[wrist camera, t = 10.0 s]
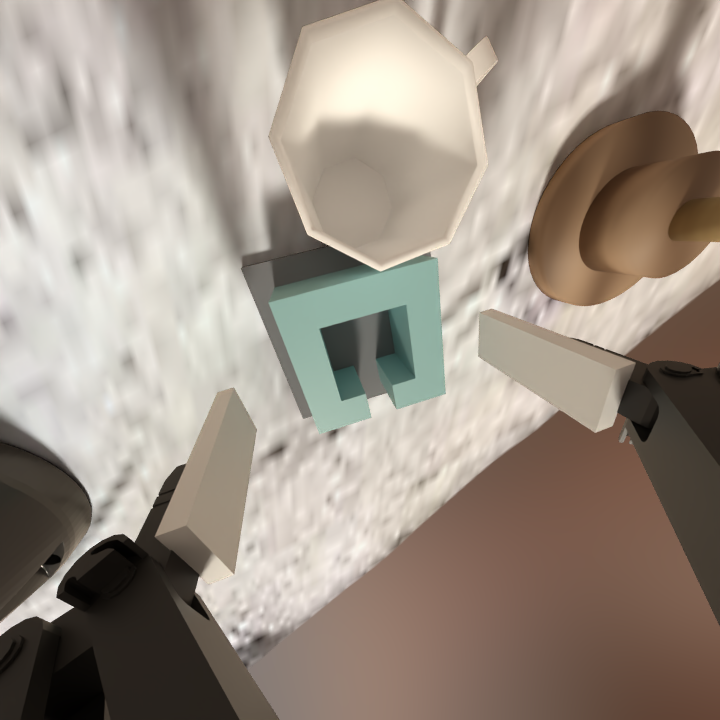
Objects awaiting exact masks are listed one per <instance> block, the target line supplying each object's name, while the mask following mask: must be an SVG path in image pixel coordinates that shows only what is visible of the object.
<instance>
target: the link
mask: <svg viewBox="0 0 720 720" xmlns="http://www.w3.org/2000/svg"><path fill="white" fill-rule="evenodd" d="M268 303H269V305H270V308H271V310H272V313H273V316H274V318H275V321H276V323H277V326H278V328H279V331H280V334H281V336H282V339H283V341H284V344H285V346H286V349H287V352H288V354H289V357H290V359H291V362H292V364H293V367H294V370H295V372H296V375H297V377H298V380H299V382H300V385H301V388H302V390H303V393H304V395H305V398H306V400H307V403H308V406H309V408H310V411H311V413H312V416H313V418H314V421H315V424H316V426H317V429H318V431H319V434H321V433H324V432H327V431H330V430H334V429H337V428H340V427H343V426H346V425H349V424H352V423H356V422H359V421H362V420H365V419H368V418H371V414H370V409H369V405H368V401H367V397H366V393H365V391H364V389H363V386H362V384H361V382H360V379H359V377H358V375H357V372H356V370H355V368H354V365H353V366H350V367H347V368H343V369H340V370H336V371H333V368H332V365H331V361H330V358H329V355H328V352H327V348H326V345H325V342H324V338H323V335H322V332H321V329H320V328H324V327H327V326H331V325H334V324H338V323H342V322H345V321H349V320H352V319H356V318H359V317H363V316H367V315H370V314H374V313H377V312H381V311H385V310H388V313H389V319H390V325H391V332H392V338H393V344H394V350H395V353H394V354H390V355H387V356H384V357H380V358H377V359H376V363H377V368H378V373H379V378H380V381H381V383H382V384H383V386H384V388H385V390H386V391H387V393H388V395H389V397H390V399H391V400H392V402H393V404H394V406H395V407H396V409H400V408H403V407H406V406H409V405H412V404H415V403H418V402H421V401H425V400H428V399H431V398H434V397H437V396H440V395H443V394H446V393H445V376H444V359H443V343H442V326H441V309H440V293H439V276H438V259H437V258H434V257H428V256H423V255H420V256H418V257H415V258H413V259H410V260H408V261H405V262H403V263H400V264H398V265H395V266H393V267H390V268H388V269H385V270H383V271H378V270H376V269H374V268H372V267H370V266H368V265H366V264H364V265H360V266H356V267H352V268H348V269H344V270H341V271H337V272H333V273H329V274H325V275H321V276H317V277H314V278H310V279H306V280H302V281H298V282H294V283H290V284H286V285H283V286H279V287H275V288H274V290H273V293H272V295H271V298H270V300H269V302H268Z"/></svg>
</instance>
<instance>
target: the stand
mask: <svg viewBox="0 0 720 720" xmlns="http://www.w3.org/2000/svg"><path fill="white" fill-rule="evenodd" d="M710 242H720V151H711V152H706V153H700V154H698V150H697V144H696V140H695V137H694V134H693V132H692V130H691V128H690V127H689V125H688V124H687V123H686V122H685V121H684V120H683V119H682V118H680V117H679V116H677V115H675V114H673V113H670V112H665V111H653V112H647V113H644V114H640V115H637V116H634V117H631V118H628V119H626V120H623V121H620V122H617V123H614V124H611V125H609V126H607V127H605V128H603V129H601V130H599V131H597V132H596V133H594V134H593V135H591V136H590V137H588V138H587V139H586V140H585V141H583V142H582V143H581V144H580V145H579V146H577V147H576V149H575V150H574V151H573V152H572V153H571V154H570V155H569V156H568V157H567V158H566V159H565V161H564V162H563V163H562V164H561V166H560V167H559V168H558V170H557V171H556V173H555V174H554V176H553V177H552V178H551V180H550V182H549V184H548V185H547V187H546V189H545V191H544V193H543V195H542V197H541V199H540V202H539V204H538V206H537V209H536V212H535V215H534V218H533V222H532V226H531V230H530V236H529V243H528V259H529V266H530V271H531V274H532V277H533V280H534V282H535V283H536V285H537V287H538V288H539V289H540V290H541V291H542V292H543V293H544V294H545V295H546V296H548V297H550V298H552V299H554V300H558V301H562V302H565V303H569V304H573V305H577V306H591V305H596V304H600V303H603V302H606V301H608V300H610V299H613V298H615V297H617V296H618V295H620V294H622V293H623V292H625V291H626V290H628V289H629V288H630V287H632V286H633V285H634V284H635V283H637V282H638V281H639V280H640V279H641V278H642V277H648V278H662V277H666V276H669V275H671V274H673V273H675V272H677V271H679V270H680V269H682V268H684V267H685V266H686V265H688V264H689V263H690V262H691V261H693V260H694V259H695V258H696V257H697V256H698V255H699V254H700V253H701V252H702V251H703V250H704V249H705V248H706V247H707V245H708V244H709V243H710Z"/></svg>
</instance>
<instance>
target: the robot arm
mask: <svg viewBox="0 0 720 720" xmlns="http://www.w3.org/2000/svg"><path fill="white" fill-rule="evenodd" d="M478 357H480V358H481V359H483V360H484V361H486V362H487V363H489V364H491V365H492V366H494V367H495V368H497V369H498V370H500V371H501V372H503V373H504V374H506V375H507V376H509V377H510V378H512V379H514V380H515V381H517V382H518V383H520V384H521V385H523V386H524V387H526V388H527V389H529V390H530V391H532V392H534V393H535V394H537V395H538V396H540V397H541V398H543V399H544V400H546V401H547V402H549V403H550V404H552V405H554V406H555V407H557V408H558V409H560V410H561V411H563V412H564V413H566V414H567V415H569V416H570V417H572V418H574V419H575V420H577V421H578V422H580V423H581V424H583V425H584V426H586V427H587V428H589V429H590V430H592V431H593V432H598V431H601V430H603V429H606V428H608V427H611V426H613V423H614V421H615V418H616V415H617V413H619V414H621V415H623V416H625V417H626V421H625V423H624V426H623V428H622V431H621V433H620V436H619V442H622V443H623V442H624V440H625V437H626V436H628V435H629V436H630V438H631V439H630V442H629V443H630V444H633V445H634V447H635V449H636V451H637V453H638V455H639V457H640V459H641V461H642V463H643V466H644V468H645V470H646V472H647V474H648V476H649V478H650V480H651V482H652V485H653V487H654V489H655V491H656V493H657V495H658V497H659V499H660V501H661V504H662V506H663V508H664V510H665V512H666V514H667V516H668V518H669V520H670V522H671V524H672V526H673V528H674V531H675V533H676V535H677V537H678V539H679V541H680V543H681V545H682V547H683V550H684V552H685V554H686V556H687V558H688V560H689V562H690V564H691V567H692V569H693V571H694V573H695V575H696V577H697V579H698V581H699V583H700V586H701V588H702V590H703V592H704V594H705V596H706V598H707V600H708V602H709V604H710V607H711V609H712V611H713V613H714V615H715V617H716V619H717V621H718V623H719V625H720V363H719V365H718V367H714V368H704V369H701V368H698V367H696V366H693V365H691V364H686V363H682V362H675V361H656V362H652V363H650V364H649V365H648V364H645V363H642V362H640V361H637V360H634V359H632V358H629V357H626V356H623V355H621V354H618V353H615V352H612V351H610V350H607V349H606V350H604V348H602V347H599V346H596V345H595V346H593V344H591V343H588V342H585V341H582V340H580V339H574V338H569V337H566V336H563V335H561V334H558V333H555V332H553V331H550V330H547V329H545V328H542V327H539V326H537V325H534V324H531V323H529V322H526V321H523V320H521V319H518V318H515V317H513V316H510V315H507V314H505V313H502V312H499V311H496V310H494V309H489V310H486V311H483V312H480V313H479V349H478ZM256 431H257V429H256V427H255V425H254V423H253V421H252V420H251V418H250V416H249V414H248V412H247V411H246V409H245V407H244V405H243V403H242V401H241V400H240V398H239V396H238V394H237V392H236V390H235V389H234V388H231V389H227V390H224V391H221V392H218V393H217V395H216V397H215V400H214V402H213V404H212V406H211V409H210V411H209V413H208V416H207V418H206V420H205V422H204V425H203V427H202V429H201V432H200V434H199V436H198V439H197V441H196V443H195V445H194V448H193V450H192V452H191V455H190V457H189V459H188V461H187V464H184V465H181V466H178V467H176V468H175V470H174V471H173V472H172V473H171V474H170V476H169V477H168V478H167V479H166V480H165V482H164V484H163V486H162V488H161V490H160V492H159V497H157V498H156V500H155V502H154V504H153V509H151V511H150V513H149V515H148V517H147V519H146V521H145V523H144V525H143V527H142V529H141V531H140V533H139V535H138V537H137V539H136V541H135V543H134V542H133V541H132V540H131V539H129V538H128V537H127V536H125V535H124V534H120V535H113V536H111V537H109V538H107V539H104V540H102V541H101V542H99V543H98V544H96V545H95V546H93V547H92V548H90V549H89V550H88V551H87V552H86V553H85V554H84V555H82V556H81V557H80V558H79V559H78V560H77V561H76V562H75V563H74V565H73V566H72V567H71V568H70V569H69V571H68V572H67V573H66V574H65V576H64V578H63V579H62V581H61V583H60V585H59V586H58V591H57V597H56V598H58V599H60V600H62V601H64V602H66V603H68V604H70V605H71V606H73V607H74V608H72V609H71V610H69V611H68V612H66V613H65V614H63V615H62V616H60V617H59V618H57V619H55V620H54V621H52V622H51V623H50V622H48V621H45V620H43V619H41V618H39V617H37V616H36V617H32V618H28V619H25V620H23V621H22V622H20V623H18V624H16V625H15V626H13V627H11V628H10V629H9V630H7V631H6V632H5V633H4V634H2V635H1V636H0V720H279V718H278V717H277V715H276V713H275V712H274V710H273V709H272V707H271V706H270V704H269V703H268V701H267V699H266V698H265V696H264V695H263V693H262V692H261V690H260V689H259V687H258V686H257V684H256V683H255V681H254V679H253V678H252V676H251V675H250V673H249V672H248V670H247V668H246V667H245V665H244V664H243V662H242V661H241V659H240V658H239V656H238V655H237V653H236V651H235V650H234V648H233V647H232V645H231V644H230V642H229V641H228V639H227V637H226V636H225V634H224V633H223V631H222V630H221V628H220V627H219V625H218V623H217V622H216V620H215V619H214V617H213V616H212V614H211V613H210V611H209V610H208V608H207V606H206V605H205V603H204V602H203V600H202V599H201V597H200V596H199V595H198V594H197V593H196V592H195V589H196V585H197V581H198V577H200V578H202V579H203V580H204V581H205V582H206V583H207V584H208V585H209V584H212V583H214V582H217V581H219V580H222V579H224V578H227V577H229V576H232V575H234V573H235V566H236V560H237V553H238V547H239V541H240V534H241V528H242V521H243V515H244V508H245V502H246V496H247V489H248V483H249V476H250V470H251V463H252V457H253V451H254V444H255V438H256ZM91 517H92V513H91V507H90V504H89V501H88V499H87V497H86V495H85V493H84V492H83V491H82V489H81V488H80V487H79V486H78V485H77V483H76V482H75V481H73V480H72V479H71V478H70V477H69V476H68V475H67V474H65V473H64V472H63V471H61V470H60V469H58V468H57V467H55V466H54V465H52V464H50V463H49V462H47V461H45V460H43V459H41V458H39V457H37V456H35V455H33V454H31V453H28V452H26V451H24V450H21V449H18V448H16V447H13V446H10V445H7V444H4V443H1V442H0V623H1V622H2V621H3V620H4V619H5V618H6V617H7V616H8V615H10V614H11V613H12V612H13V611H14V610H15V609H16V608H17V607H18V606H20V605H21V604H22V603H23V602H24V601H25V600H26V599H27V598H28V597H29V596H31V595H32V594H33V593H34V592H35V591H36V590H37V589H38V588H39V587H41V586H42V585H43V584H44V583H45V582H46V581H47V580H48V579H49V578H50V577H52V576H53V575H54V574H55V573H56V572H57V571H58V570H59V569H60V568H61V567H62V566H63V564H64V563H65V562H66V561H67V560H68V558H69V557H70V555H71V554H72V553H73V551H74V550H75V548H76V547H77V546H78V544H79V543H80V541H81V540H82V538H83V537H84V536H85V534H86V533H87V531H88V529H89V527H90V523H91Z"/></svg>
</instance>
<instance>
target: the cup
mask: <svg viewBox="0 0 720 720" xmlns="http://www.w3.org/2000/svg"><path fill="white" fill-rule="evenodd" d="M497 61H498V59H497V57H496V54H495V52H494V50H493V48H492V46H491V43H490V41H489V39H488V37H487V36H486V37H485V38H484V39H482V40H481V41H480V42H479V43H478V44H477V45H476V46H475V47H474V48H473V49H472V50H471V51H470V52H469V53H468V54H467V55H466V56H465V55H464V54H463V53H462V52H461V51H460V50H458V49H457V48H456V47H455V46H454V45H453V44H452V43H450V42H449V41H448V40H447V39H446V38H445V37H444V36H442V35H441V34H440V33H439V32H438V31H437V30H436V29H435V28H433V27H432V26H431V25H430V24H429V23H428V22H427V21H425V20H424V19H423V18H422V17H421V16H420V15H419V14H417V13H416V12H415V11H414V10H413V9H412V8H411V7H409V6H408V5H407V4H406V3H405V2H404V1H403V0H379V1H376V2H373V3H370V4H367V5H364V6H361V7H358V8H355V9H352V10H349V11H347V12H344V13H341V14H338V15H335V16H332V17H329V18H326V19H323V20H320V21H317V22H315V23H312V24H309V25H306V26H303V27H302V29H301V32H300V36H299V39H298V42H297V45H296V49H295V52H294V55H293V58H292V62H291V65H290V68H289V71H288V75H287V78H286V81H285V84H284V88H283V91H282V94H281V97H280V101H279V104H278V107H277V110H276V114H275V117H274V120H273V123H272V127H271V130H270V133H269V136H268V137H269V139H270V142H271V144H272V147H273V149H274V152H275V154H276V157H277V159H278V162H279V164H280V167H281V169H282V172H283V174H284V177H285V179H286V182H287V184H288V187H289V189H290V192H291V194H292V197H293V199H294V202H295V204H296V207H297V210H298V212H299V215H300V217H301V220H302V222H303V225H304V227H305V230H306V232H307V235H309V236H311V237H313V238H315V239H317V240H319V241H321V242H323V243H325V244H327V245H329V246H331V247H333V248H335V249H337V250H339V251H341V252H343V253H345V254H347V255H349V256H351V257H352V258H354V259H356V260H358V261H360V262H362V263H364V264H366V265H368V266H370V267H372V268H374V269H376V270H378V271H383V270H385V269H388V268H390V267H393V266H395V265H398V264H400V263H403V262H405V261H408V260H410V259H413V258H415V257H418V256H420V255H423V254H425V253H428V252H430V251H433V250H435V249H438V248H440V247H443V246H445V245H448V244H449V243H450V241H451V239H452V237H453V235H454V233H455V231H456V229H457V227H458V225H459V223H460V221H461V219H462V217H463V215H464V213H465V211H466V209H467V207H468V205H469V203H470V201H471V199H472V197H473V195H474V192H475V190H476V188H477V186H478V184H479V182H480V180H481V178H482V176H483V174H484V172H485V170H486V168H487V166H488V161H487V155H486V148H485V141H484V134H483V127H482V120H481V114H480V107H479V100H478V93H477V85H478V84H479V83H480V82H481V81H482V80H483V78H484V77H485V76H486V75H487V74H488V72H489V71H490V70H491V69H492V68H493V67H494V65H495V64H496V63H497Z"/></svg>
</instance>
